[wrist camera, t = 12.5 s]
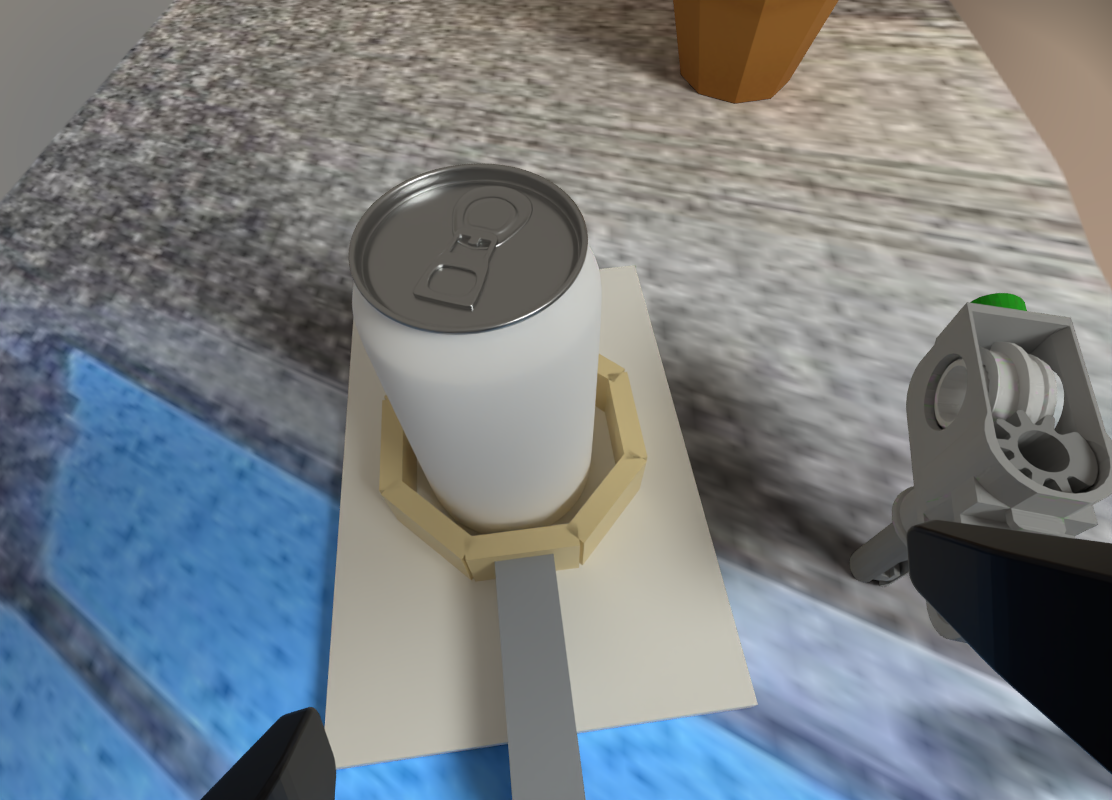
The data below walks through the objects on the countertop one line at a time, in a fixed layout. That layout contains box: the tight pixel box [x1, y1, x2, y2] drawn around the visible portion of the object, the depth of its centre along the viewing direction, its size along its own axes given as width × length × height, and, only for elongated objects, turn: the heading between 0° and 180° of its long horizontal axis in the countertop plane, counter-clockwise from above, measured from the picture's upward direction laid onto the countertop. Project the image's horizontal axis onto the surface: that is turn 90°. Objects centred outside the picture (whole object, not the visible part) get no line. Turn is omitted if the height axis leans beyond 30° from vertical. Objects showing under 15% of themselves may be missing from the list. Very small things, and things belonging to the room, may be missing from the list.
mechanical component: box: [850, 293, 1112, 643], centre depth 18 cm, size 3×10×10 cm, turn 167°
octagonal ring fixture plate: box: [325, 265, 758, 800], centre depth 23 cm, size 25×14×4 cm, turn 7°
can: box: [349, 164, 602, 534], centre depth 19 cm, size 6×6×12 cm
